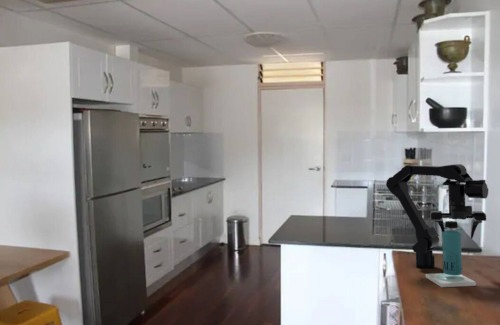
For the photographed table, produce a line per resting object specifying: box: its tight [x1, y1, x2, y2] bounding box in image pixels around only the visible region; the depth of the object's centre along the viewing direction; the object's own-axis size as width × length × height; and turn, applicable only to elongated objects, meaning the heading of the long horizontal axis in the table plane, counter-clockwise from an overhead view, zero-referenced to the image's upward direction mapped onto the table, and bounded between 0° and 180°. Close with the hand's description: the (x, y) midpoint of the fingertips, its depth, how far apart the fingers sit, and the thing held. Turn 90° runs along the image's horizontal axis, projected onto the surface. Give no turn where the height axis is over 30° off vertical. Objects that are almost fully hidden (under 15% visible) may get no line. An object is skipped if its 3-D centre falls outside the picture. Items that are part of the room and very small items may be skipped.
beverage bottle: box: [441, 220, 463, 275], centre depth 152 cm, size 6×7×20 cm
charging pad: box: [425, 272, 477, 288], centre depth 151 cm, size 12×12×1 cm
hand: (457, 238), depth 162 cm, fingers open, 9 cm apart
